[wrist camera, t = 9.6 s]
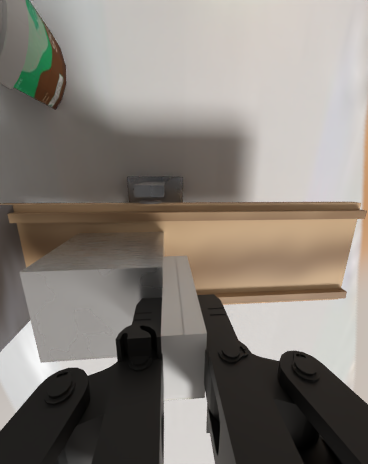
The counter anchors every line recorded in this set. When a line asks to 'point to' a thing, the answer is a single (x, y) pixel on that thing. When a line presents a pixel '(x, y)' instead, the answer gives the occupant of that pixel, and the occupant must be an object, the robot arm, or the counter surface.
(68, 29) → the counter surface
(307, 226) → the balance beam
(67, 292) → the block
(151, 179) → the balance stand
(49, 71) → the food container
